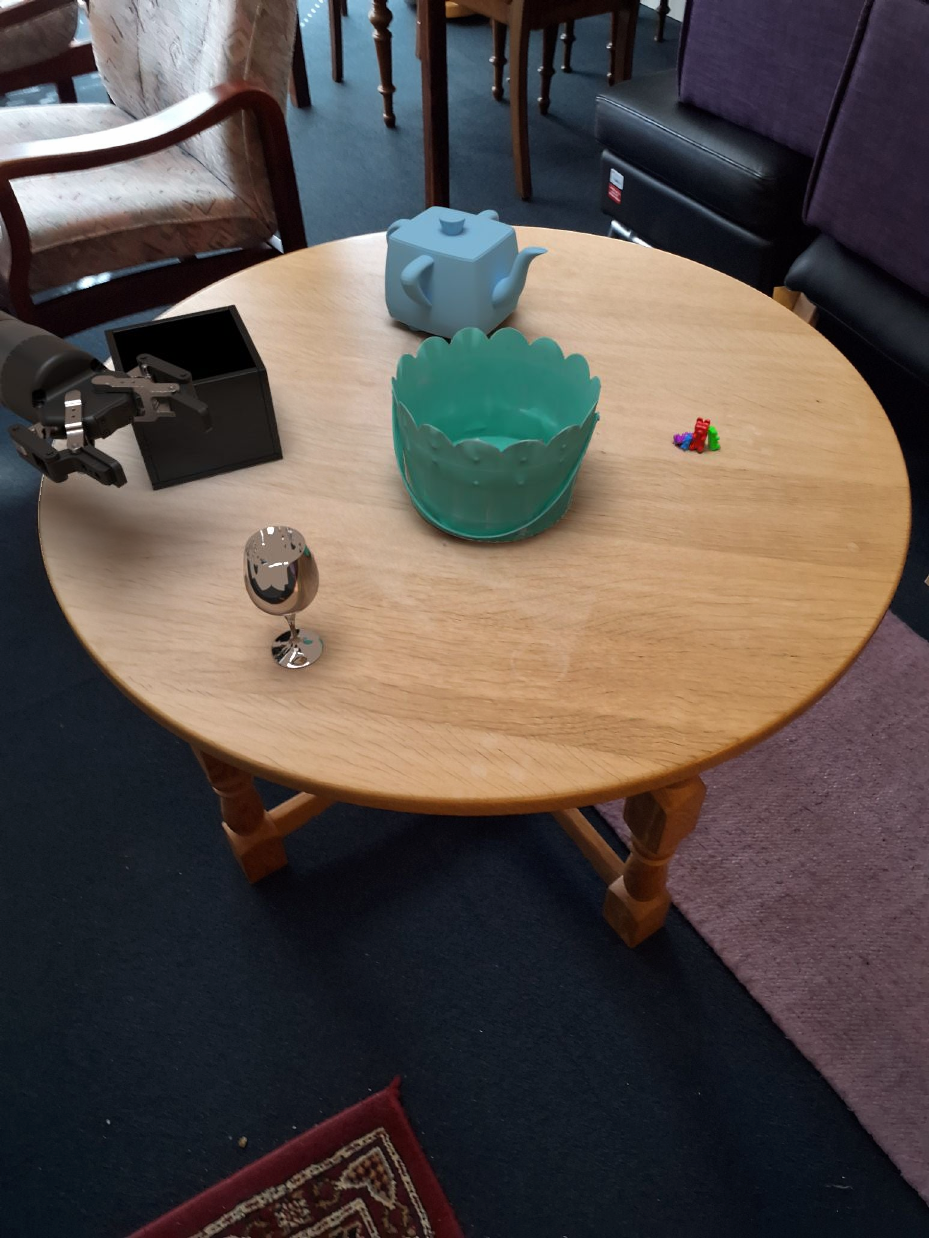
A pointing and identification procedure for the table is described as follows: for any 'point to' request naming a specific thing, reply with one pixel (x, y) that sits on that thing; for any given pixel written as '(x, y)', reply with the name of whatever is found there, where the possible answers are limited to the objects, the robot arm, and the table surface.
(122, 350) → the waste bin
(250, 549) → the wineglass
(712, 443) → the gummy bear
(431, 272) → the teapot
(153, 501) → the table surface
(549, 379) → the basket
